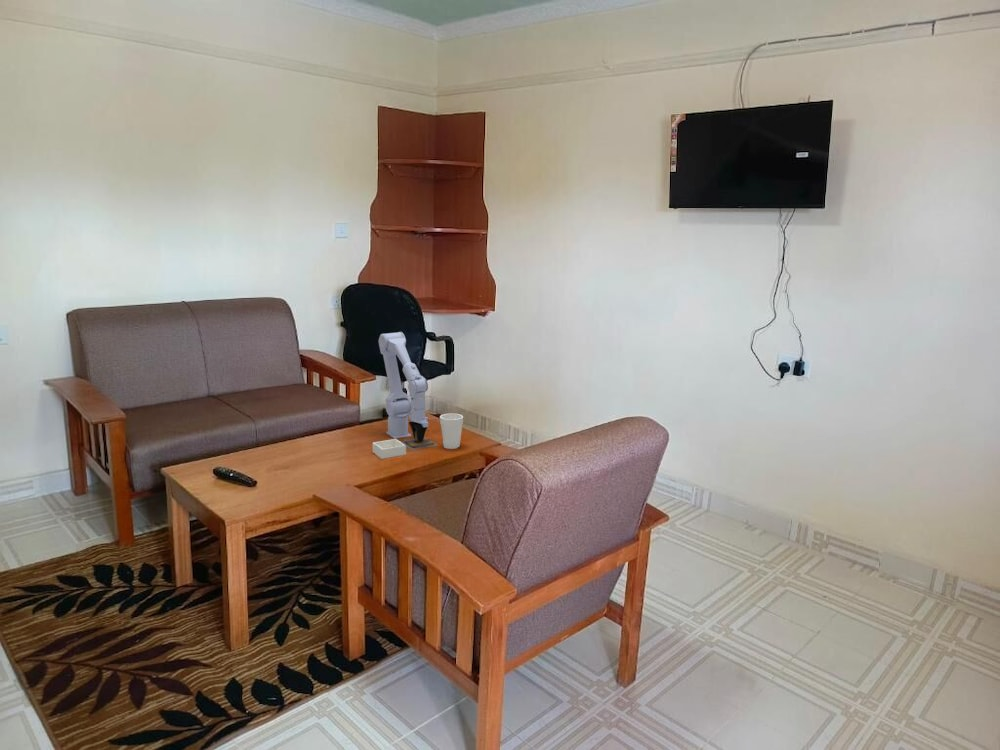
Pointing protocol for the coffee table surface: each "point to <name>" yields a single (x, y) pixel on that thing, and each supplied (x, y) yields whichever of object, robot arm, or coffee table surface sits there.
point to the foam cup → (451, 430)
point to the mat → (419, 447)
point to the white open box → (389, 448)
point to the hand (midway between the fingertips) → (418, 439)
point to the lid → (418, 442)
